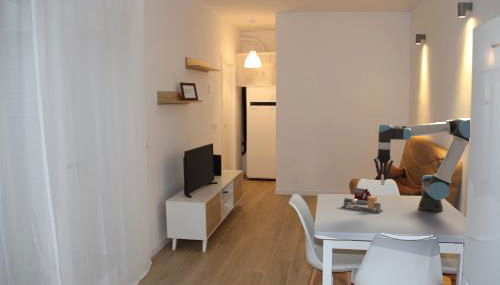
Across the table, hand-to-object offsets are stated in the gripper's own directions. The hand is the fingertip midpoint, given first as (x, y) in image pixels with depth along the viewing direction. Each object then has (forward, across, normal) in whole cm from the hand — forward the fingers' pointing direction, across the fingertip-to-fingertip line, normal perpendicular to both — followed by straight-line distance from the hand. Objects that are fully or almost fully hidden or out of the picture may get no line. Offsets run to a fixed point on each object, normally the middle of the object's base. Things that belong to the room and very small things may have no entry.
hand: (382, 184), depth 282 cm
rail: (+19, +14, 0) cm, 23 cm away
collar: (+16, +7, 0) cm, 18 cm away
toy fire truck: (+19, +20, -18) cm, 33 cm away
